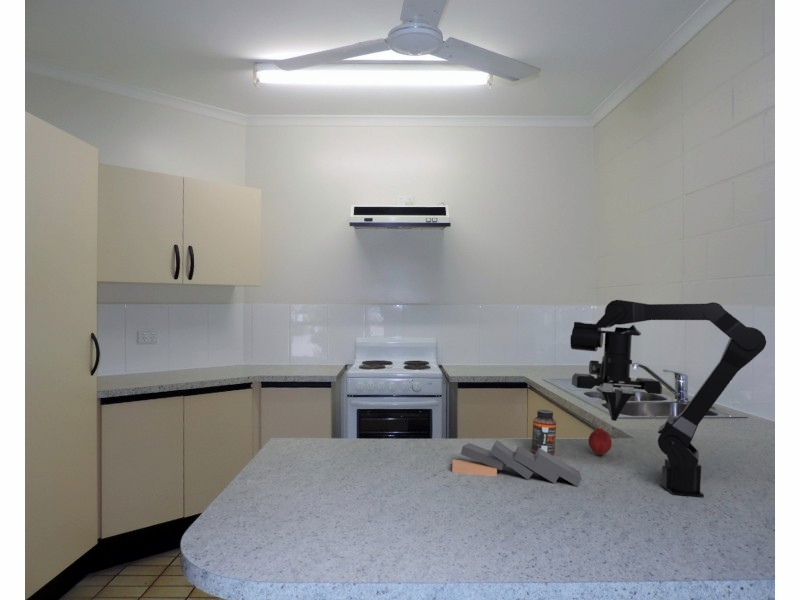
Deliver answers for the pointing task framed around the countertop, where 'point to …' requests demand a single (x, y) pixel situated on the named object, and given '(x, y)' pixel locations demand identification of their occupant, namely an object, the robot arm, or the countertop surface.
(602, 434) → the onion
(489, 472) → the domino
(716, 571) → the countertop surface
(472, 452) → the domino
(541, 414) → the supplement bottle
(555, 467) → the domino
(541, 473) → the domino
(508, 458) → the domino
